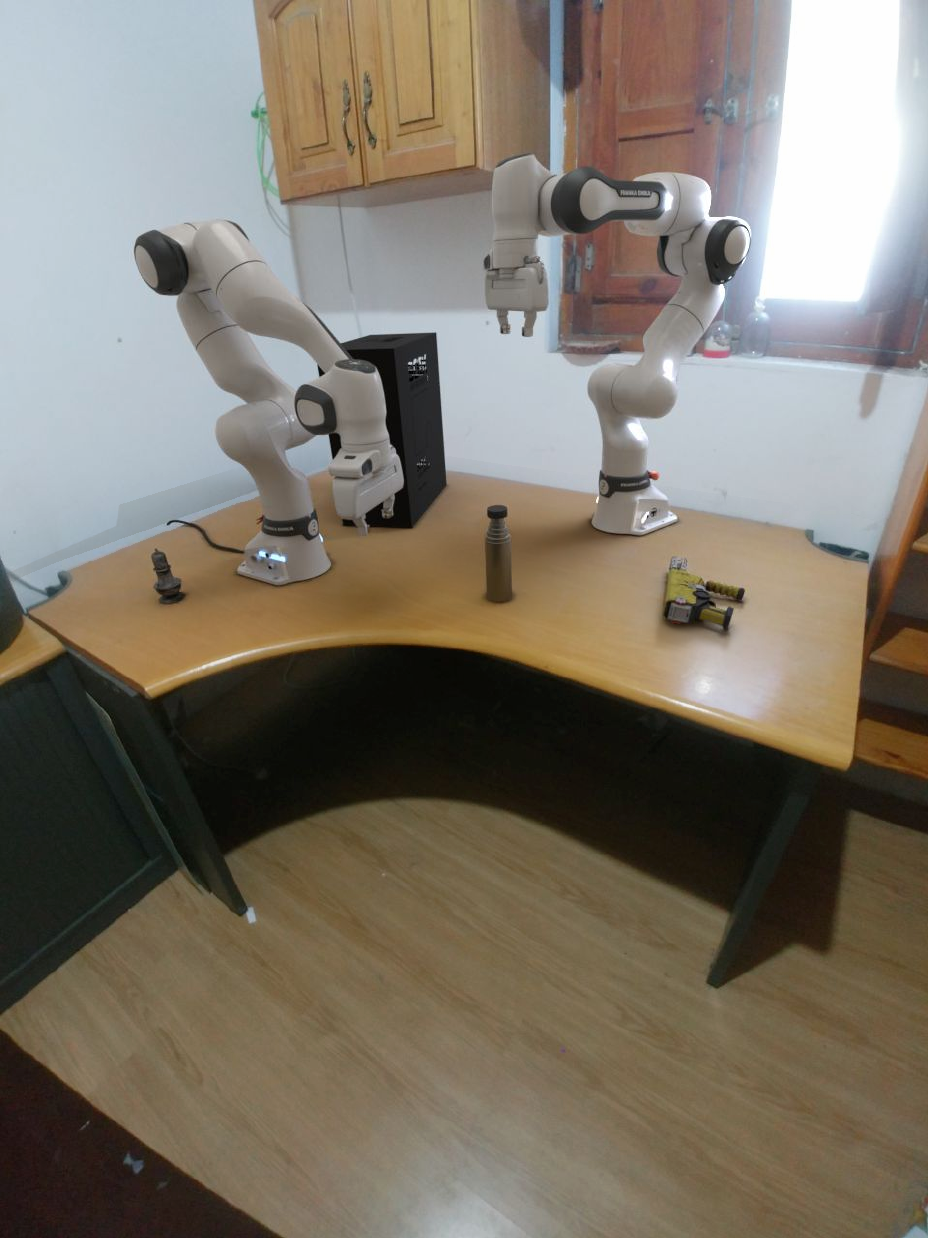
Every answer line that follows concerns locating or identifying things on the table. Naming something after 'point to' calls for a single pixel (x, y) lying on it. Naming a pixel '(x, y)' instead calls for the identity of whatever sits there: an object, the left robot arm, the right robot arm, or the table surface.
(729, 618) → the toy gun
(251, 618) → the table surface
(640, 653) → the table surface
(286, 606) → the table surface
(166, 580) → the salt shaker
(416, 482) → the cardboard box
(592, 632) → the table surface
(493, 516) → the cap
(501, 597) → the bottle
